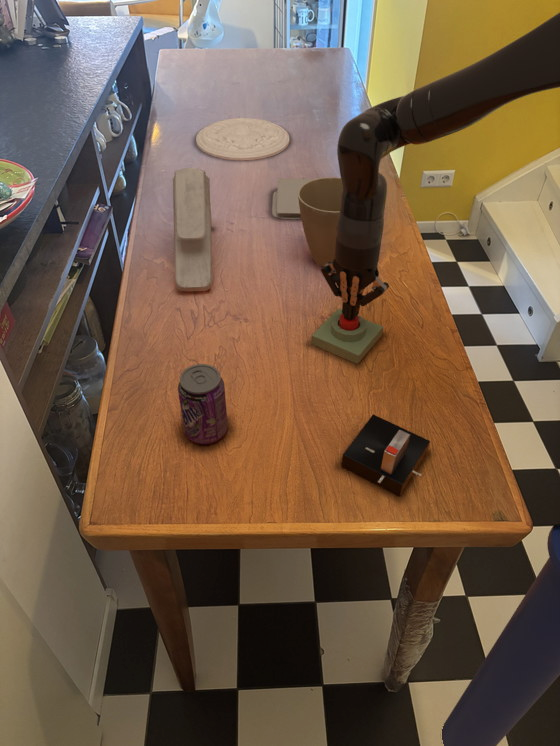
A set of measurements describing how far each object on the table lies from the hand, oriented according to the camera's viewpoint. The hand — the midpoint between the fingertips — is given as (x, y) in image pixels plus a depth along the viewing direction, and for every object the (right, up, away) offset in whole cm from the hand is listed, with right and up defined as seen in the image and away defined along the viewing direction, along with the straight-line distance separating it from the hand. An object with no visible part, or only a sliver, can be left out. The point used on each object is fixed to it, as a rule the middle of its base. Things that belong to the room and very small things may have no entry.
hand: (349, 316), depth 112 cm
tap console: (+4, -25, -18) cm, 31 cm away
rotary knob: (+4, -24, -21) cm, 32 cm away
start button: (0, -1, +1) cm, 2 cm away
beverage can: (-25, -20, -13) cm, 34 cm away
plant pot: (-2, +15, +24) cm, 28 cm away
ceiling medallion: (-24, +60, +70) cm, 95 cm away
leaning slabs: (-32, +16, +24) cm, 43 cm away
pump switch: (0, -4, +4) cm, 6 cm away
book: (-3, +32, +42) cm, 53 cm away
